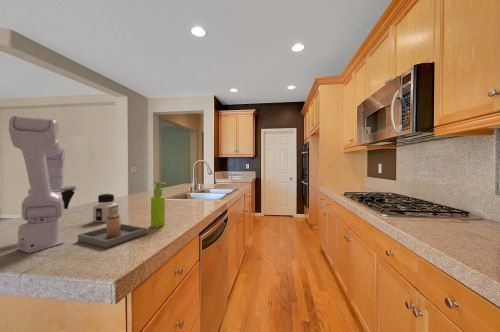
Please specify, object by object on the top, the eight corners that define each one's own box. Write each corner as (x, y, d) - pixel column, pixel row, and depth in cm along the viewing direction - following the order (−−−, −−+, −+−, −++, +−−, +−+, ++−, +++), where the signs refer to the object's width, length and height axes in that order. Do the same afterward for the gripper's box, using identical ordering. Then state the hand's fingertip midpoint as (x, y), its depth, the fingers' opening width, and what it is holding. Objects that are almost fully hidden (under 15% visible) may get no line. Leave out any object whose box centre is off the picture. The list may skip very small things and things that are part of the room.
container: (108, 222, 103) (108, 195, 103) (92, 222, 103) (92, 195, 103) (118, 218, 111) (118, 193, 110) (104, 218, 111) (104, 193, 111)
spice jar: (109, 239, 79) (108, 218, 79) (104, 236, 82) (104, 216, 81) (122, 235, 82) (122, 215, 82) (118, 233, 85) (117, 213, 85)
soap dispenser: (161, 227, 95) (161, 182, 94) (147, 226, 96) (147, 182, 96) (169, 224, 100) (169, 181, 100) (156, 223, 102) (156, 181, 102)
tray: (106, 248, 71) (106, 241, 71) (77, 241, 78) (77, 234, 78) (146, 234, 86) (146, 228, 86) (119, 229, 93) (119, 223, 92)
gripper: (69, 175, 94) (69, 206, 94) (23, 177, 81) (24, 213, 81) (78, 176, 91) (78, 207, 91) (33, 178, 78) (33, 215, 78)
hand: (53, 210), depth 86 cm, fingers open, 7 cm apart
